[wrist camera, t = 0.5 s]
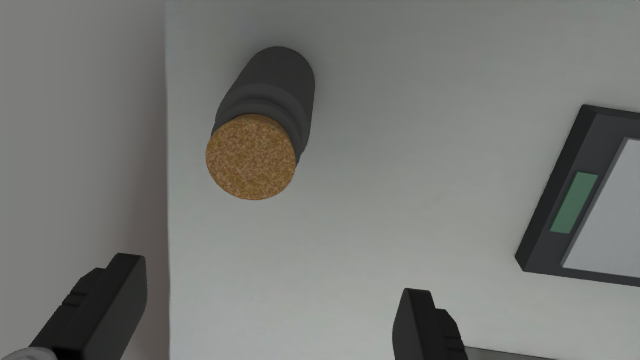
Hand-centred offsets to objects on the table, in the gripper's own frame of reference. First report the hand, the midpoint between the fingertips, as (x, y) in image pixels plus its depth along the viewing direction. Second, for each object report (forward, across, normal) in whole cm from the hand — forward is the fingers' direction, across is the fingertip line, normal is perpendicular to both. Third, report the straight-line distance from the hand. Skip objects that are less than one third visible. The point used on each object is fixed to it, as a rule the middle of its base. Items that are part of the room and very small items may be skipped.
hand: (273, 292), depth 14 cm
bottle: (+25, +2, 0) cm, 26 cm away
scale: (+25, -31, +7) cm, 40 cm away
